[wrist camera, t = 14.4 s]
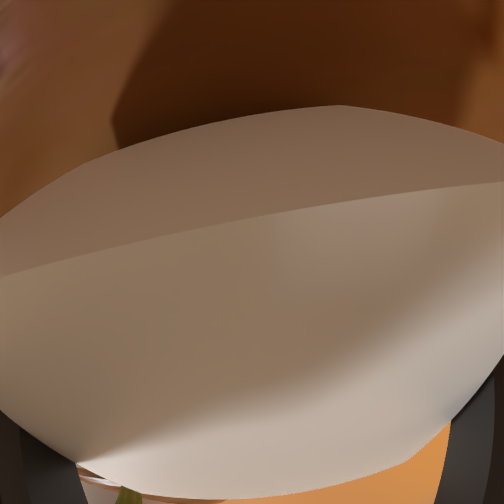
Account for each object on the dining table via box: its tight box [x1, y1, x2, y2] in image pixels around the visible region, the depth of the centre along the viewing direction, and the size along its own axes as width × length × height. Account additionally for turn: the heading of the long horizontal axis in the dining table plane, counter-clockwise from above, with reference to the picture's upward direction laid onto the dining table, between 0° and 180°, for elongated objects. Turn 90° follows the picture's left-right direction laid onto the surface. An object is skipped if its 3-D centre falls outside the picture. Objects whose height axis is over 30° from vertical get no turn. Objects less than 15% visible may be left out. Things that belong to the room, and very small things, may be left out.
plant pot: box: [115, 485, 142, 504], centre depth 49 cm, size 9×9×9 cm
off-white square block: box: [0, 105, 504, 499], centre depth 8 cm, size 10×10×9 cm
